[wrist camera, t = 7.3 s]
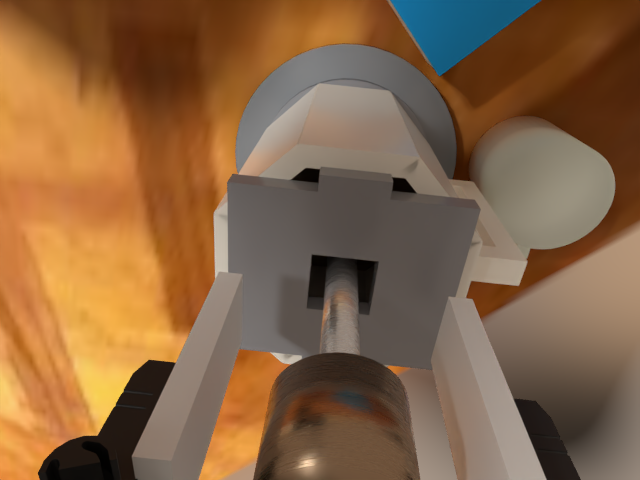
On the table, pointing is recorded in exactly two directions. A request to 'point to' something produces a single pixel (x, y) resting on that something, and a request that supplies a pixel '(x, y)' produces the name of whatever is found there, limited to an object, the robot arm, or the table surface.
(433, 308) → the cafetiere
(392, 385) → the plunger
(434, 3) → the book
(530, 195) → the espresso cup
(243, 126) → the disc
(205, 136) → the table surface
